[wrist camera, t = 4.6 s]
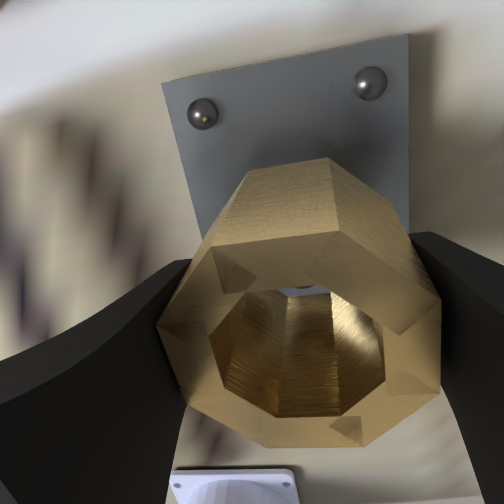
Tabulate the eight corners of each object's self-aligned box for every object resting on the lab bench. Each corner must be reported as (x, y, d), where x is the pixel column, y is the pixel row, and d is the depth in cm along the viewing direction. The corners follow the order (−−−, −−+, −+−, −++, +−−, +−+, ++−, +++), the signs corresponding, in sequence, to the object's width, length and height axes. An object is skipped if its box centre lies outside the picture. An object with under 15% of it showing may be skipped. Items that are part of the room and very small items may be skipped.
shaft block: (402, 307, 18) (441, 402, 13) (232, 321, 19) (209, 412, 14) (399, 35, 13) (459, 26, 8) (171, 80, 14) (107, 96, 9)
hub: (396, 312, 13) (439, 446, 9) (236, 325, 14) (203, 449, 10) (388, 147, 11) (442, 217, 6) (196, 179, 12) (129, 256, 7)
